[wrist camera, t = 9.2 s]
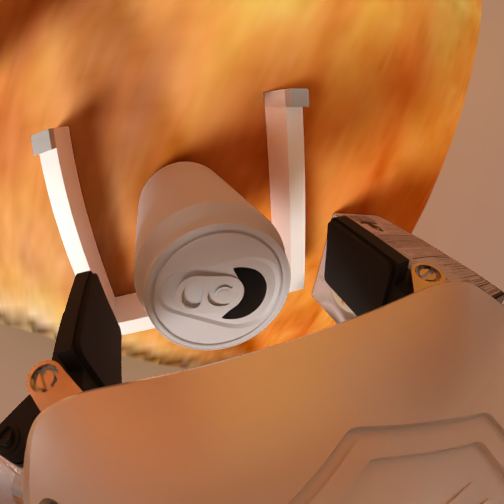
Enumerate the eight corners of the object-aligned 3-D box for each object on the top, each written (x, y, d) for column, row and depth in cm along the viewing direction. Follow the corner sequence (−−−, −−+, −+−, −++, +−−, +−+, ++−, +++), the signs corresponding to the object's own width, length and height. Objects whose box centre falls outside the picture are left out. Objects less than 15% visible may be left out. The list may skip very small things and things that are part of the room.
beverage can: (215, 245, 23) (275, 353, 13) (134, 239, 20) (133, 358, 10) (232, 167, 21) (322, 225, 10) (145, 154, 18) (140, 202, 8)
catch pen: (278, 91, 19) (308, 88, 15) (285, 267, 26) (309, 293, 23) (53, 131, 15) (30, 135, 11) (107, 311, 22) (104, 346, 18)
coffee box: (356, 289, 31) (453, 384, 18) (309, 295, 29) (410, 413, 16) (379, 213, 27) (508, 294, 14) (331, 209, 25) (479, 310, 12)
